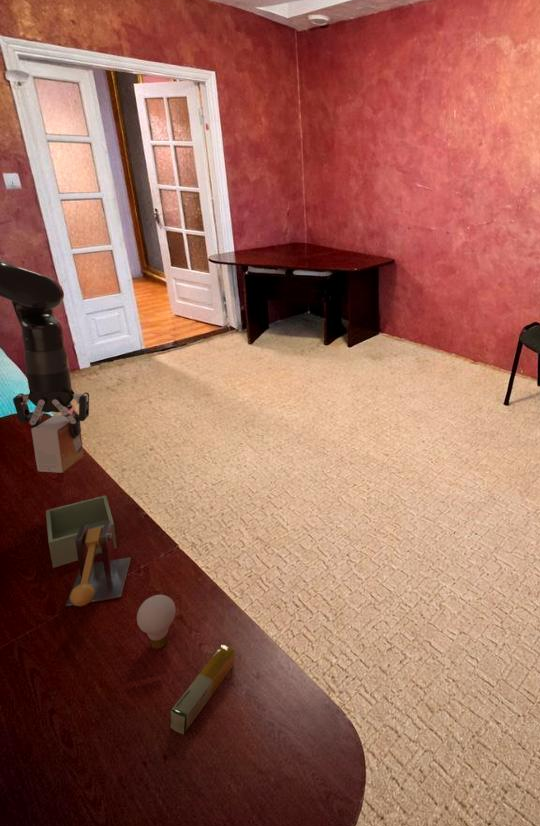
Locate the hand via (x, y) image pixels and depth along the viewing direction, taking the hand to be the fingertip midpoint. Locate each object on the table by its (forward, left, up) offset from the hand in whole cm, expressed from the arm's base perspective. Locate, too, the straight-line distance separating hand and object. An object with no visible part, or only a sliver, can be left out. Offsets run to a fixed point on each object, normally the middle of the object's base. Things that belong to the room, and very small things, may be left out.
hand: (57, 437), depth 108 cm
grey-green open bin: (+6, -11, -21) cm, 24 cm away
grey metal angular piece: (+14, -24, -21) cm, 35 cm away
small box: (0, 0, -7) cm, 7 cm away
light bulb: (+28, -41, -21) cm, 54 cm away
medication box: (+37, -52, -21) cm, 67 cm away
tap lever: (+14, -29, -13) cm, 35 cm away
